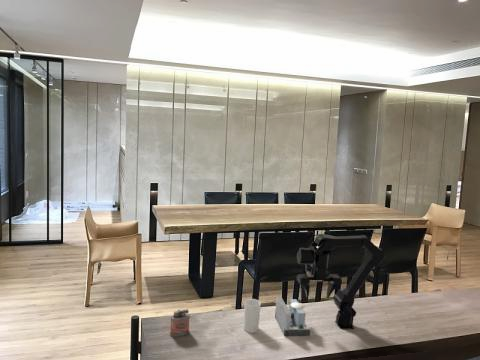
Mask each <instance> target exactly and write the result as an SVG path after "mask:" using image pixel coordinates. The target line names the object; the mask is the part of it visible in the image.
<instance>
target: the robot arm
mask: <svg viewBox="0 0 480 360" xmlns="http://www.w3.org/2000/svg"><path fill="white" fill-rule="evenodd" d="M344 247H362V248H363V249H364V250H365V252H364V255H363V261H362V262H361V265H360V266H359V267H358V269H357V271H356V272H355V273H354V274H353V277H352V278H351V279H350V281H349V282H348V284H347V285H346V287H345V288H344V289H340V288H338V287H339V286H342V283H343V279H342V278H341V277H340V275H338V274H336V273H330V274H328V271H329V267H328V266H329V265H328V264H329V256H333V255H335V254H334V253H333V251H332V250H334V249H336V248H344ZM386 256H387V255H386V252H385V251H384V250H383V249H382V248H380V247H379V246H377V245H375V244H374V243H373V242H372V241H371V239H370V238H369V237H368V236H366V235H363V234H360V235H348V236H347V235H344V236H343V235H340V236H339V235H337V236H335V235H331V234H326V233H325V234H324V233H319V234H317V235H316V236H315V238H314V241H312V242H311V244H310V245H309V246H308V247H299V249H298V251H297V253H296V261H297V263H298V265H304V266H305V267H304V271H305V272H308V274H310V275H311V276H308V274H306V273H298V274H297V275H296V281H297V282H298V284H299V285H301V286H302V287H303V289H304V292H305V297H306V299H309V296H310V289H311V287H310V284H311V283H310V282H327V291H326V298H327V299H329V298H330V296H331V295H332V293H333V292H334V291H335V289H336V288H338V290H337V292H336V293H335V294H334V295H333V297H334V298H333V303H334V305H335V306H336V307H337V309H338V310H337V314H336V315H335V316H336V318H335V321H334V322H335V324H336V325H337V326H338V327H339V328H340V329H342V330H343V329H348V330H349V329H352V330H353V329H355V326H354V317H356V315H357V311H356V310H355V309H354V307H353V306H354V303H355V298H356V294H357V293H358V292H359V290H360V289H361V287H362V286H363V284H364V283H365V281H366V279H367V278H368V276H370V273H371V271H372V270H373V269H374V268H376V267H377V266H379V265H381V264H382V262H383V261H384V260H385V258H386ZM311 265H312V266H311ZM327 274H328V276H327Z"/></svg>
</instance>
